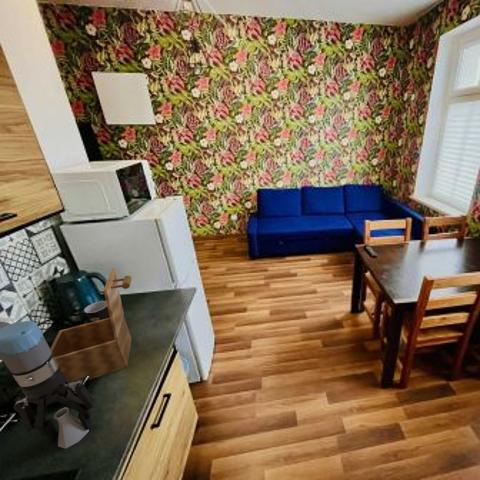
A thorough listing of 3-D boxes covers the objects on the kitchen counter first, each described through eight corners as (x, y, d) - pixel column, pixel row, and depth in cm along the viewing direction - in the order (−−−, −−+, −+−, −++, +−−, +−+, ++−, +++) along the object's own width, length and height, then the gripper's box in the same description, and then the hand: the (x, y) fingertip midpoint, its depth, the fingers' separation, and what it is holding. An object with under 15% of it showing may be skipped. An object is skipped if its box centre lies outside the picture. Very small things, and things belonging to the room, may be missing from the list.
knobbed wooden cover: (103, 290, 88) (126, 286, 91) (111, 268, 102) (131, 265, 105) (115, 340, 95) (136, 335, 98) (121, 313, 109) (140, 310, 112)
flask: (83, 418, 83) (72, 396, 79) (94, 430, 80) (82, 408, 76) (53, 439, 77) (39, 417, 74) (63, 454, 74) (49, 431, 70)
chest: (58, 390, 92) (43, 362, 87) (72, 356, 106) (59, 330, 101) (127, 367, 101) (116, 341, 96) (131, 338, 115) (122, 314, 110)
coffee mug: (86, 329, 120) (79, 311, 116) (105, 317, 128) (98, 299, 124) (107, 333, 117) (100, 315, 114) (124, 320, 125) (118, 303, 121)
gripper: (-23, 405, 62) (20, 463, 71) (84, 371, 70) (111, 427, 79) (-7, 380, 68) (32, 437, 77) (90, 351, 76) (115, 405, 85)
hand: (72, 431), depth 78 cm, fingers closed on flask, 7 cm apart
